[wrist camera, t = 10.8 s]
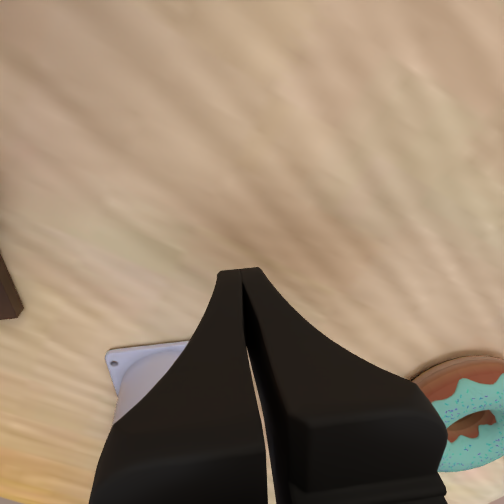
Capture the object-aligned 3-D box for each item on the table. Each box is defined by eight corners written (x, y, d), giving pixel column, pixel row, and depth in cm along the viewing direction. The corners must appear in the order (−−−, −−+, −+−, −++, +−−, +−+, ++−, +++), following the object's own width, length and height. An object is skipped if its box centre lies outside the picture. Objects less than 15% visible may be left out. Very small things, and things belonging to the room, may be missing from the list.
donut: (543, 351, 32) (585, 390, 29) (472, 441, 38) (500, 482, 34) (418, 338, 29) (447, 379, 26) (361, 436, 35) (379, 481, 32)
